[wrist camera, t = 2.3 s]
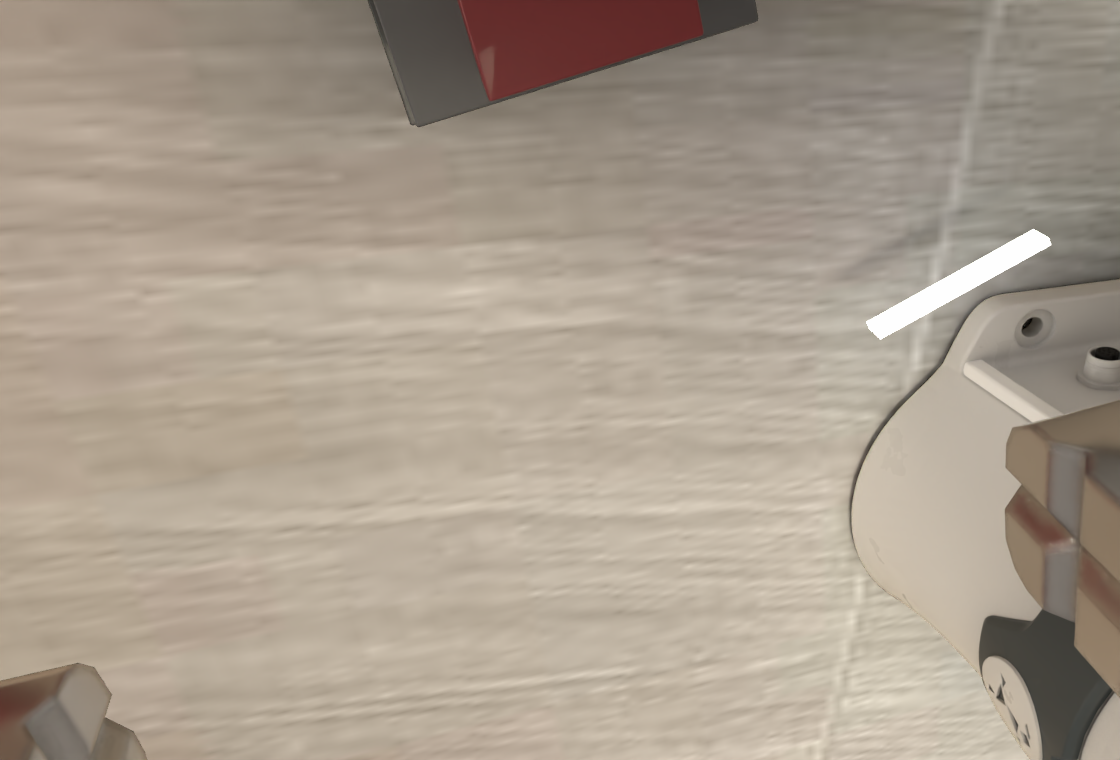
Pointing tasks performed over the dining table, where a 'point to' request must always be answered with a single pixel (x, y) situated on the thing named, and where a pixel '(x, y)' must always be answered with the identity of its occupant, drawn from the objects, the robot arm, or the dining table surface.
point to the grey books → (448, 61)
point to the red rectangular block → (567, 36)
